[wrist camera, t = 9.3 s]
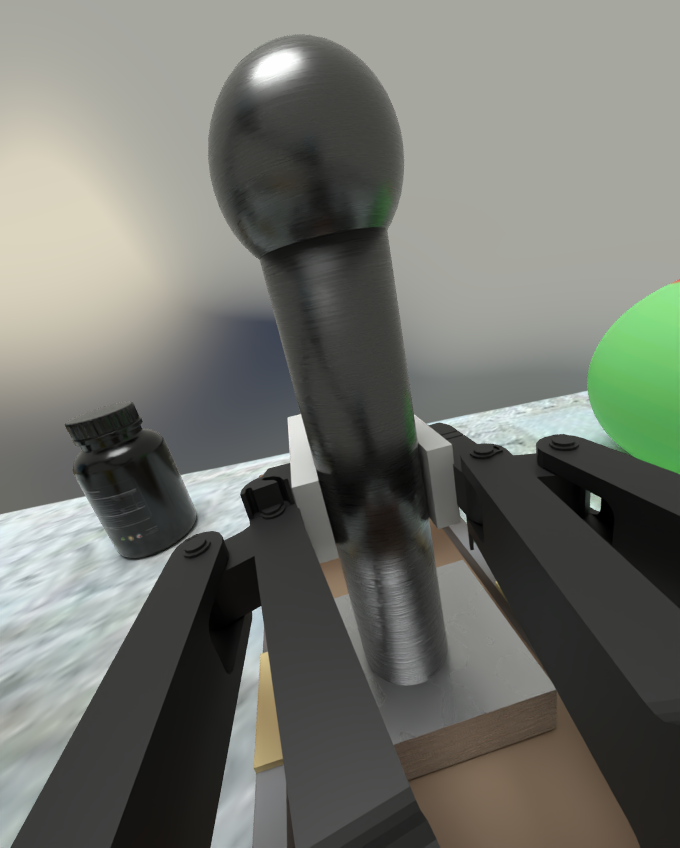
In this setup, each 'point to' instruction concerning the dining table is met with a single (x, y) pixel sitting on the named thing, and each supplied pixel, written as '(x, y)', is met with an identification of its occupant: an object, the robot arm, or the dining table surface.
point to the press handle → (365, 394)
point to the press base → (470, 763)
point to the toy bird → (641, 379)
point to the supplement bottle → (130, 480)
